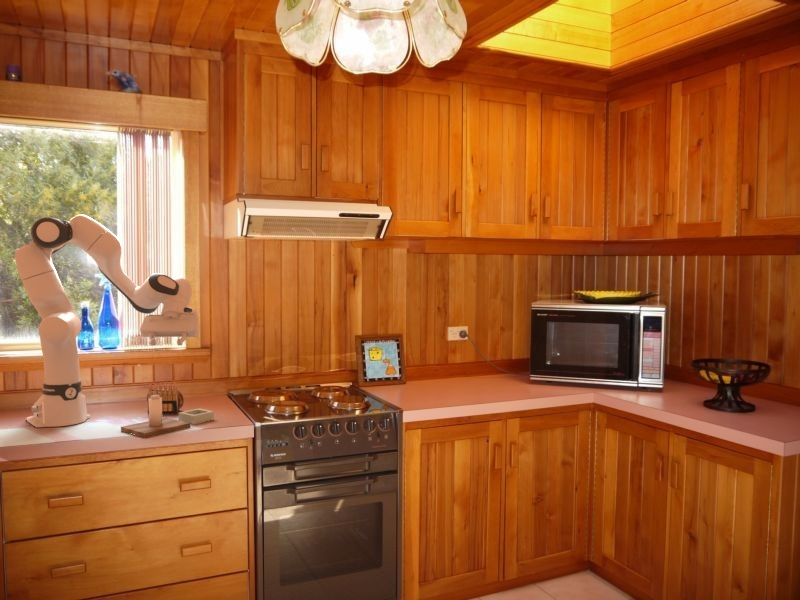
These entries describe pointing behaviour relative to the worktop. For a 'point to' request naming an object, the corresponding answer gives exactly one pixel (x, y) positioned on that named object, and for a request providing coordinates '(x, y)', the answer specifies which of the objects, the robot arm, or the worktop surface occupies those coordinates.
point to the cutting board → (155, 427)
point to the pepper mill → (155, 410)
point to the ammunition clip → (166, 397)
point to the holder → (196, 416)
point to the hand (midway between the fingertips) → (165, 344)
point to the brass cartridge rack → (179, 397)
